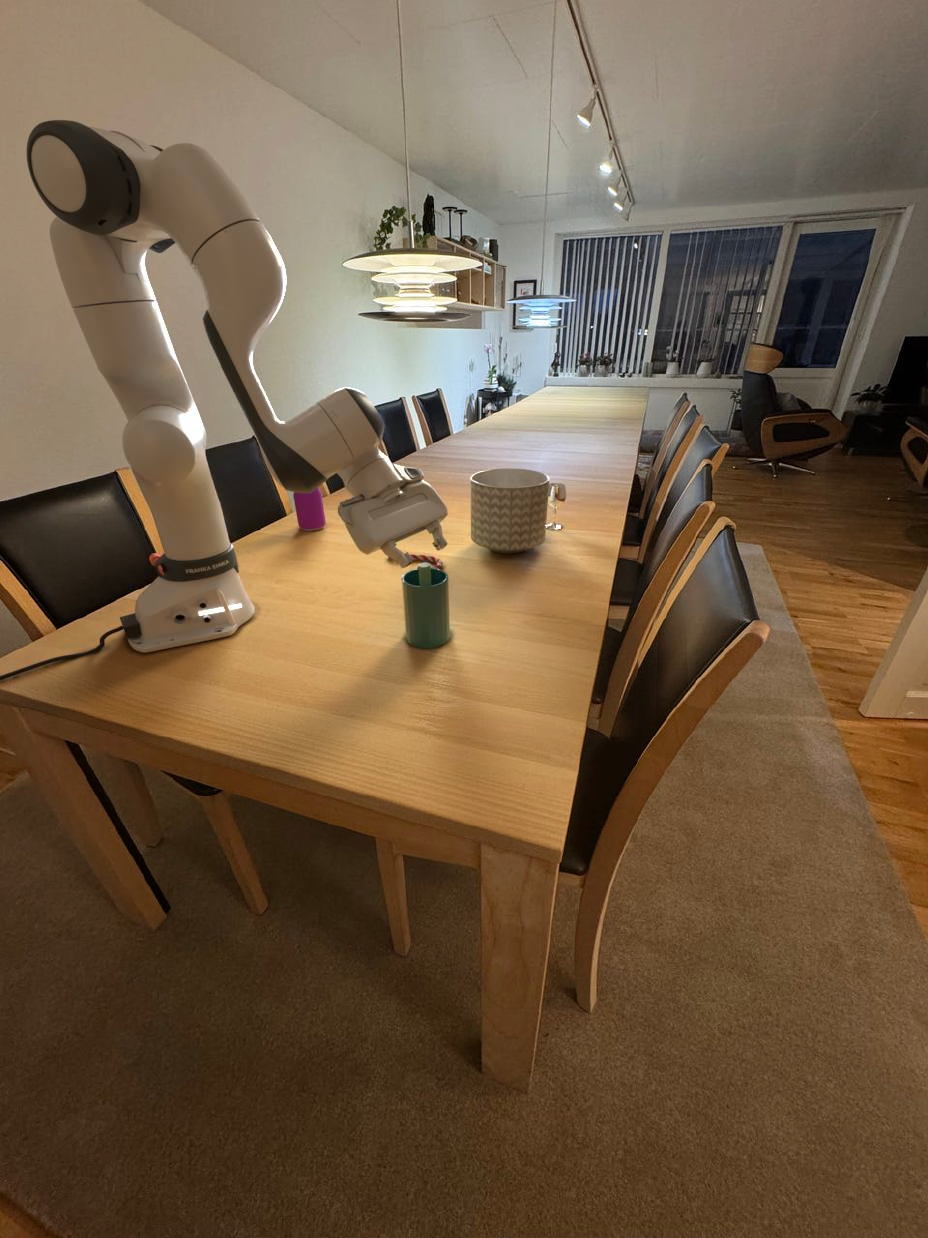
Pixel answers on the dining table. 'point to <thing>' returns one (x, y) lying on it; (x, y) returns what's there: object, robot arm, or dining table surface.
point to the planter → (509, 509)
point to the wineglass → (556, 500)
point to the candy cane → (427, 558)
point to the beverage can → (310, 510)
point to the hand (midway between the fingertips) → (426, 556)
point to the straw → (424, 574)
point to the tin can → (426, 609)
